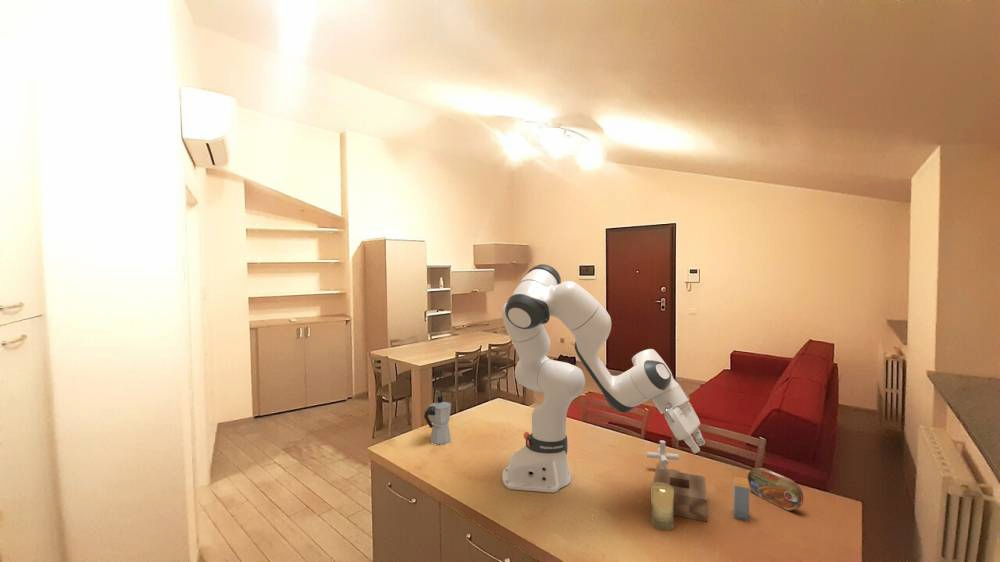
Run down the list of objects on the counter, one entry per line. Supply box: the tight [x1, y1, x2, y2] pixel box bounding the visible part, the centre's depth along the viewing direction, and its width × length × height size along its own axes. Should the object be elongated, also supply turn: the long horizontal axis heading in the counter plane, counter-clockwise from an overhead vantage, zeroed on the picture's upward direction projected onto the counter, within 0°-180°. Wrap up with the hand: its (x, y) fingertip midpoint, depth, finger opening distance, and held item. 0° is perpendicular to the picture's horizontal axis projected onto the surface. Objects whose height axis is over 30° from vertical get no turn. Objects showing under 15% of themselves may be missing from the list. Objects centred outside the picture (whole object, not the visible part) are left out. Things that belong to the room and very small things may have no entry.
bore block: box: [652, 467, 708, 522], centre depth 124 cm, size 14×14×6 cm
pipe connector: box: [646, 440, 680, 470], centre depth 144 cm, size 10×10×10 cm
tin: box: [747, 467, 804, 511], centre depth 124 cm, size 15×3×8 cm, turn 24°
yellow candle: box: [650, 482, 675, 531], centre depth 114 cm, size 6×6×10 cm
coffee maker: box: [423, 395, 452, 446], centre depth 170 cm, size 15×9×18 cm, turn 144°
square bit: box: [732, 476, 750, 522], centre depth 117 cm, size 4×4×10 cm
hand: (700, 448), depth 118 cm, fingers open, 8 cm apart
